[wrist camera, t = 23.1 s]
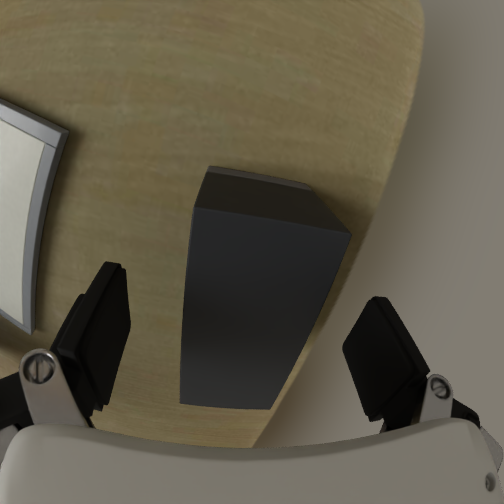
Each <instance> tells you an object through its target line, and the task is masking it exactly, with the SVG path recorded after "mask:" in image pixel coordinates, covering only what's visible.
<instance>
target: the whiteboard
mask: <svg viewBox="0 0 504 504" xmlns="http://www.w3.org/2000/svg"><path fill="white" fill-rule="evenodd" d="M68 134H69V131H68V130H66V129H64V128H62V127H60V126H58V125H56V124H53V123H51V122H49V121H47V120H45V119H43V118H41V117H39V116H37V115H35V114H33V113H31V112H28V111H26V110H24V109H22V108H20V107H18V106H16V105H14V104H11V103H9V102H7V101H5V100H3V99H1V98H0V314H1V315H2V316H3V317H5V318H6V319H8V320H9V321H10V322H12V323H13V324H15V325H16V326H18V327H19V328H21V329H22V330H24V331H25V332H27V333H28V334H30V335H32V333H33V332H34V330H35V295H36V279H37V268H38V259H39V251H40V244H41V237H42V231H43V225H44V220H45V215H46V210H47V206H48V201H49V197H50V193H51V189H52V185H53V181H54V178H55V174H56V171H57V167H58V164H59V161H60V157H61V154H62V151H63V148H64V145H65V143H66V140H67V137H68Z"/></svg>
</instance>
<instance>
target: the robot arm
mask: <svg viewBox="0 0 504 504" xmlns="http://www.w3.org/2000/svg"><path fill="white" fill-rule="evenodd" d="M130 327H131V320H130V312H129V302H128V291H127V278H126V270H125V269H124V268H122V267H121V264H119V263H113V262H107V261H106V262H104V264H103V265H102V267H101V268H100V270H99V272H98V273H97V275H96V277H95V278H94V280H93V281H92V283H91V285H90V286H89V288H88V290H87V292H86V293H85V294H80V295H79V296H78V298H77V299H76V301H75V303H74V305H73V306H72V308H71V310H70V312H69V313H68V315H67V317H66V319H65V321H64V323H63V324H62V326H61V328H60V330H59V332H58V334H57V336H56V338H55V340H54V342H53V344H52V346H51V348H50V350H47V349H40V348H39V349H34V350H32V351H30V352H28V353H27V354H26V355H25V356H23V358H22V360H21V361H20V365H19V372H17V373H14V374H12V375H9V376H7V377H5V378H2V379H0V465H1V463H2V462H3V463H2V466H1V470H0V504H504V496H503V491H502V487H501V484H500V480H499V476H498V470H499V468H500V465H501V462H502V459H503V451H502V448H501V446H500V445H499V444H498V443H497V442H496V441H495V439H494V438H493V437H492V436H491V435H489V433H488V432H487V431H486V430H485V429H484V428H483V427H482V426H481V427H480V421H479V417H478V415H477V413H476V412H474V411H473V410H472V409H470V408H468V407H467V406H465V405H463V404H462V403H460V402H459V401H457V400H455V399H454V398H453V390H452V387H451V385H450V383H449V382H448V380H447V379H446V378H444V377H443V376H441V375H438V374H433V375H431V376H430V377H429V378H428V379H427V377H426V375H427V374H428V373H429V372H430V369H429V367H428V365H427V364H426V362H425V360H424V358H423V356H422V354H421V353H420V351H419V349H418V347H417V346H416V344H415V342H414V340H413V339H412V337H411V335H410V334H409V332H408V330H407V329H406V327H405V326H404V324H403V322H402V320H401V319H400V317H399V315H398V314H397V312H396V311H395V309H394V307H393V306H392V304H391V303H390V301H389V300H388V299H387V298H386V297H378V296H375V297H373V298H372V299H371V300H369V301H368V302H367V304H366V306H365V308H364V309H363V311H362V313H361V315H360V316H359V318H358V320H357V321H356V323H355V325H354V327H353V328H352V330H351V332H350V333H349V335H348V336H347V338H346V340H345V341H344V343H343V347H342V350H343V353H344V356H345V359H346V361H347V364H348V367H349V370H350V372H351V375H352V378H353V381H354V384H355V387H356V389H357V392H358V395H359V398H360V401H361V404H362V407H363V410H364V413H365V415H367V416H368V418H369V421H370V422H373V421H378V420H381V419H382V418H383V419H384V423H383V425H382V428H381V430H380V433H379V434H376V435H371V436H366V437H361V438H356V439H351V440H344V441H338V442H332V443H324V444H316V445H307V446H294V447H281V448H280V447H279V448H222V447H206V446H195V445H185V444H177V443H169V442H162V441H155V440H149V439H143V438H138V437H133V436H128V435H123V434H119V433H114V432H109V431H104V430H99V429H96V428H95V426H94V424H93V422H92V421H91V419H90V416H92V414H93V410H94V409H95V410H98V411H102V409H103V405H108V403H109V401H110V397H111V393H112V389H113V385H114V382H115V378H116V374H117V371H118V367H119V364H120V361H121V357H122V354H123V351H124V348H125V344H126V341H127V338H128V335H129V332H130Z"/></svg>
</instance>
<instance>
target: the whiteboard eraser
mask: <svg viewBox="0 0 504 504" xmlns="http://www.w3.org/2000/svg"><path fill="white" fill-rule="evenodd" d="M351 236H352V234H351V233H350V231H349V230H348V229H347V228H346V227H345V226H344V224H343V223H342V222H341V221H340V220H339V219H338V218H337V217H336V215H335V214H334V213H333V212H332V211H331V210H330V209H329V208H328V207H327V206H326V205H325V203H324V202H323V201H322V200H321V199H320V198H319V197H318V196H317V195H316V194H315V193H314V192H313V191H312V190H311V189H310V188H309V187H308V186H307V185H306V184H304V183H300V182H295V181H291V180H286V179H281V178H276V177H271V176H266V175H261V174H255V173H250V172H244V171H238V170H233V169H226V168H220V167H214V166H209V167H208V169H207V172H206V174H205V177H204V179H203V182H202V185H201V188H200V190H199V193H198V196H197V199H196V201H195V204H194V207H193V214H192V222H191V230H190V239H189V248H188V258H187V268H186V279H185V291H184V305H183V320H182V338H181V362H180V403H181V404H188V405H197V406H207V407H218V408H234V409H266V410H270V409H271V407H272V406H273V404H274V402H275V400H276V398H277V397H278V395H279V393H280V391H281V389H282V388H283V386H284V384H285V382H286V380H287V378H288V376H289V374H290V373H291V371H292V369H293V367H294V365H295V363H296V361H297V359H298V357H299V355H300V353H301V351H302V349H303V347H304V345H305V343H306V341H307V339H308V337H309V335H310V333H311V330H312V328H313V326H314V324H315V322H316V320H317V318H318V315H319V313H320V311H321V309H322V307H323V304H324V302H325V300H326V298H327V295H328V293H329V291H330V288H331V286H332V284H333V281H334V279H335V276H336V274H337V272H338V269H339V267H340V264H341V262H342V259H343V257H344V254H345V252H346V249H347V246H348V244H349V241H350V238H351Z"/></svg>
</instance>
